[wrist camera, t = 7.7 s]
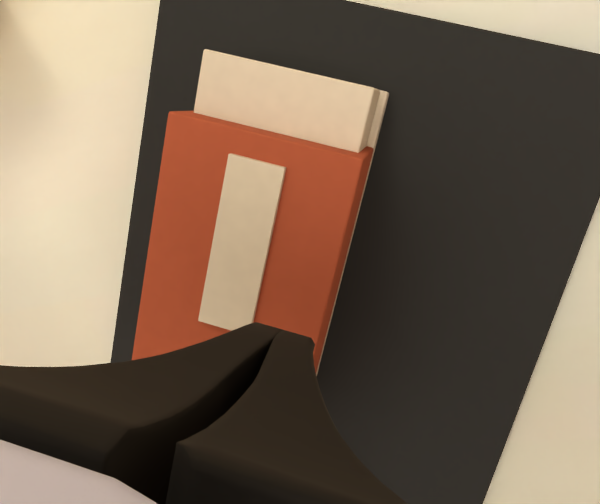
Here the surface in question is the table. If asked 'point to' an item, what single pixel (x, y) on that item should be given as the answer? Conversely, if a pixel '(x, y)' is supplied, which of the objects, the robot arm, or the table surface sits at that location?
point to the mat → (416, 219)
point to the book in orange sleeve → (256, 204)
